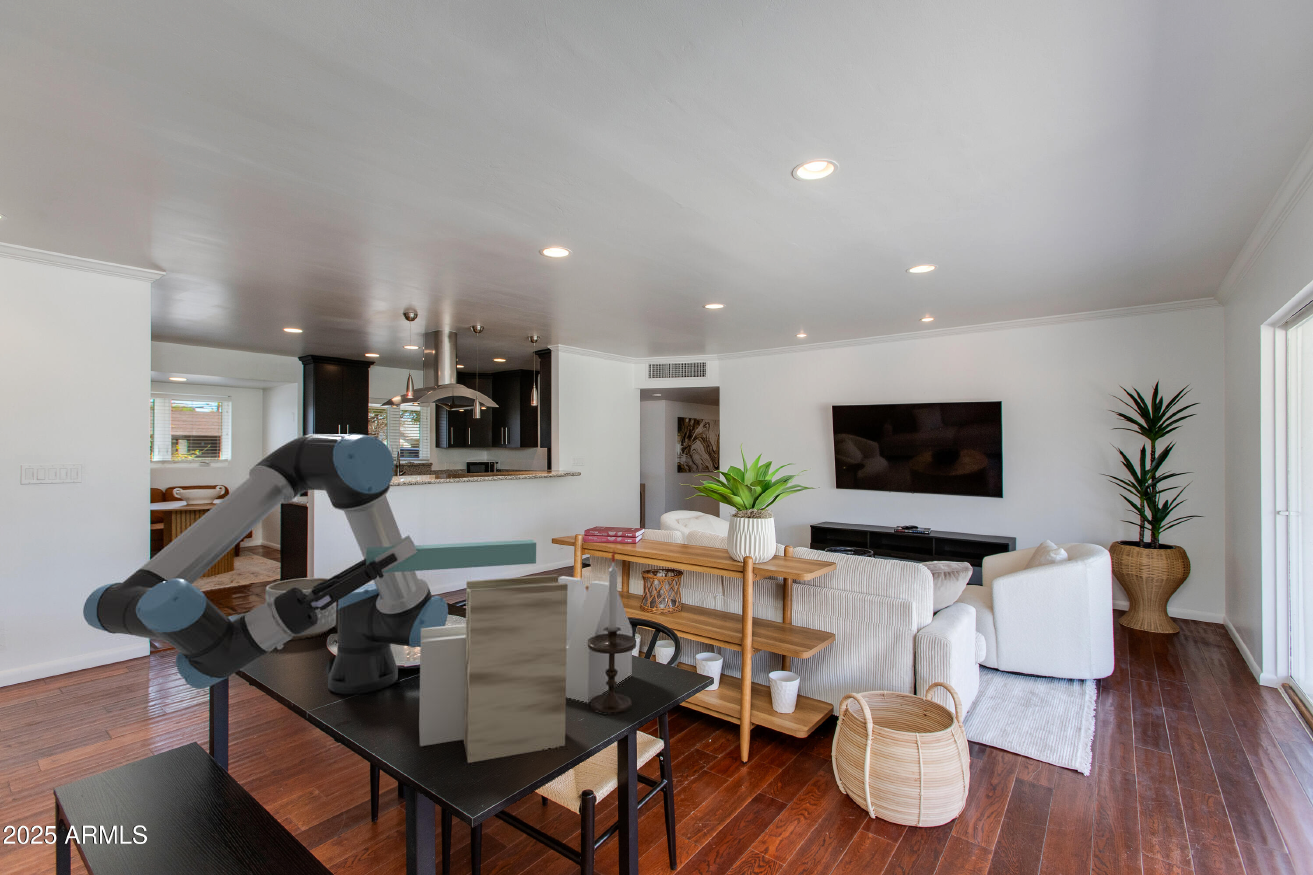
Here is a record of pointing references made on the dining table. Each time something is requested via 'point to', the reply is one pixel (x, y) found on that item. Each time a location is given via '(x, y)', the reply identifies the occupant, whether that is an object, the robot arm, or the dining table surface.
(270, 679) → the dining table surface
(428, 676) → the white lidded box
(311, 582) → the planter
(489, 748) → the stand
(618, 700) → the candlestick
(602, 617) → the white slotted block
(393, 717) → the dining table surface
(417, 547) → the bar
